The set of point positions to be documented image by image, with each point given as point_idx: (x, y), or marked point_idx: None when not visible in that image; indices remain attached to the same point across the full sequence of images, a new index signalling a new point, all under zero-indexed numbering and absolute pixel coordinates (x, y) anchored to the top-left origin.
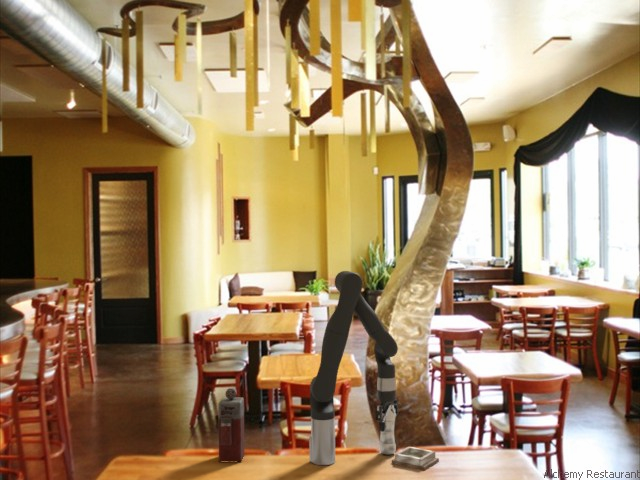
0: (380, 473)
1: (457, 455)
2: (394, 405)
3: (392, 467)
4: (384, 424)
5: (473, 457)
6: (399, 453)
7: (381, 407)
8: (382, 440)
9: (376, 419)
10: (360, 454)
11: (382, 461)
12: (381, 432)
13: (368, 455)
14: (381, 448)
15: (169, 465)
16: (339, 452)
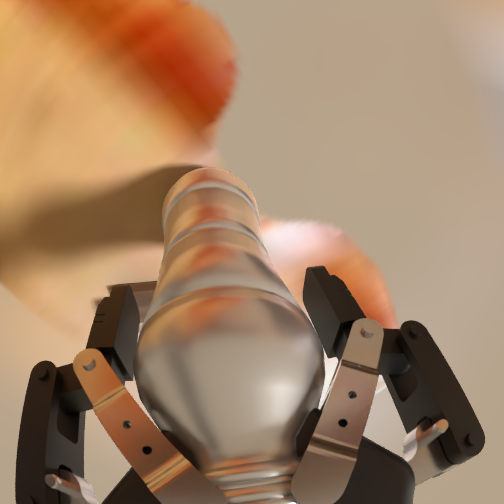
0: (31, 304)
1: (325, 360)
2: (407, 435)
3: (91, 305)
4: (131, 362)
5: (324, 380)
6: (139, 331)
7: None
8: (164, 235)
9: (39, 381)
10: (110, 96)
11: (106, 245)
12: (164, 255)
13: (123, 139)
14: (162, 208)
15: None
16: (78, 2)
